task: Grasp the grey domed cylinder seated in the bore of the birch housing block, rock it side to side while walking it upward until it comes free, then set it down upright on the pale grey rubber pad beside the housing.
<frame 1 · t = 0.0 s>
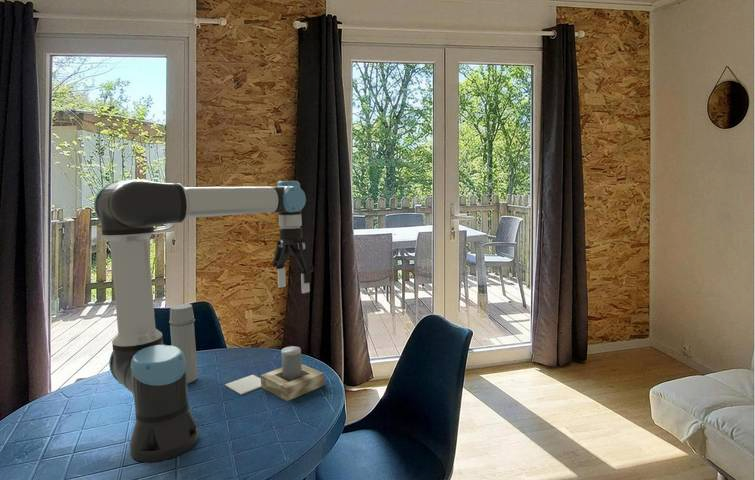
hand: (293, 289, 150), 28 cm above the table, fingers open, 13 cm apart
water bottle: (187, 380, 147), on the table
housing: (292, 386, 140), on the table
pad: (247, 384, 142), on the table
grey domed cylinder: (291, 368, 139), in the housing
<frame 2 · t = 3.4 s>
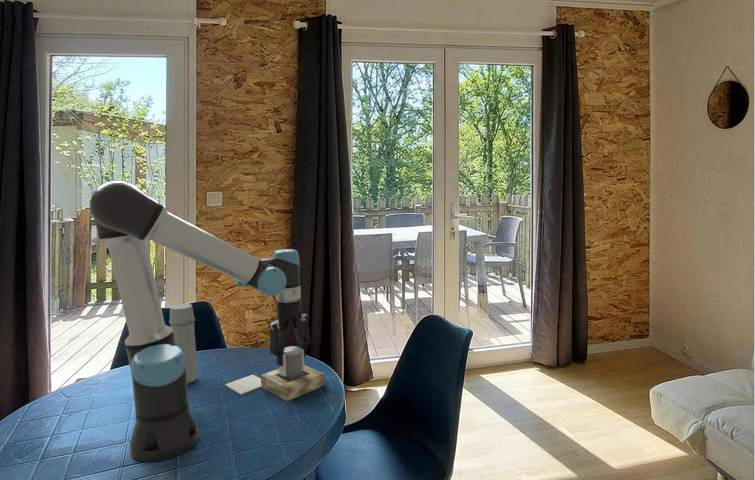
hand: (292, 371, 139), 5 cm above the table, fingers closed on grey domed cylinder, 6 cm apart
grey domed cylinder: (291, 368, 139), in the housing, touching gripper
everything else where it was.
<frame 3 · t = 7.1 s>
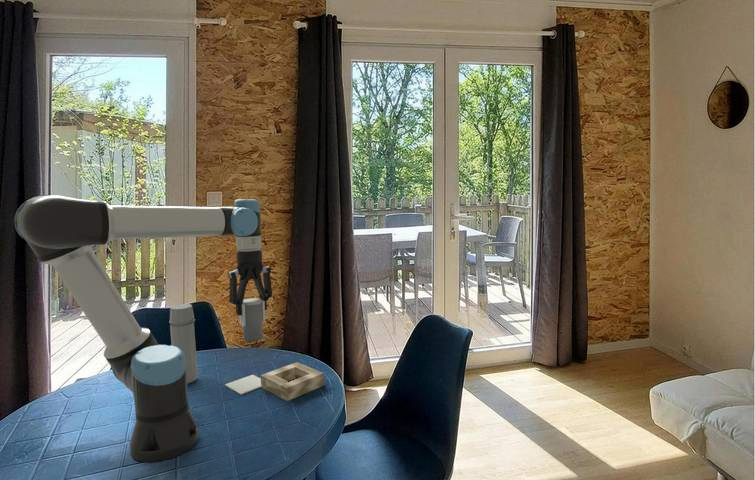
hand: (252, 322, 139), 21 cm above the table, fingers closed on grey domed cylinder, 6 cm apart
grey domed cylinder: (252, 319, 139), point 22 cm above the table, touching gripper
everything else where it was.
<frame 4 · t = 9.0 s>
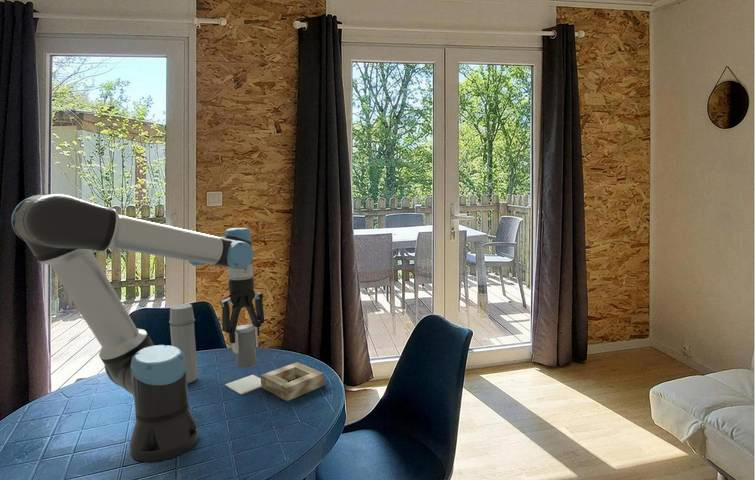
hand: (245, 349, 140), 12 cm above the table, fingers closed on grey domed cylinder, 6 cm apart
grey domed cylinder: (245, 345, 140), point 13 cm above the table, touching gripper
everything else where it was.
when the fingers open (7 cm above the table, at t = 10.7 s): grey domed cylinder drops 2 cm, resting on pad.
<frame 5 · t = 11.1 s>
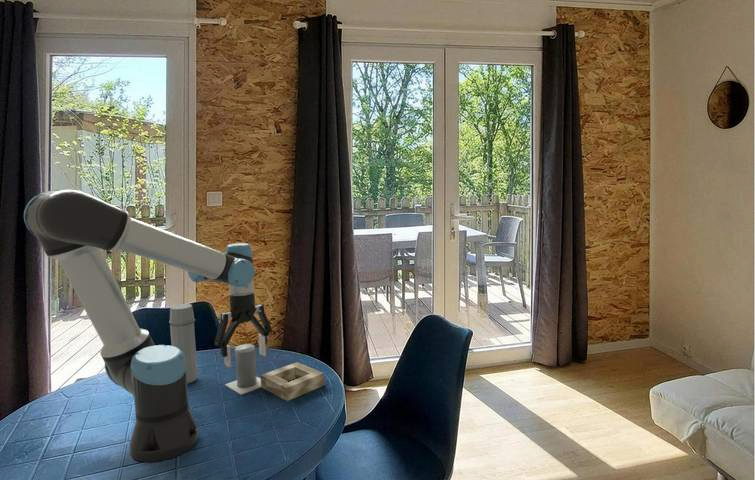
hand: (245, 360, 141), 8 cm above the table, fingers open, 11 cm apart
grey domed cylinder: (245, 365, 141), on the pad
everything else where it was.
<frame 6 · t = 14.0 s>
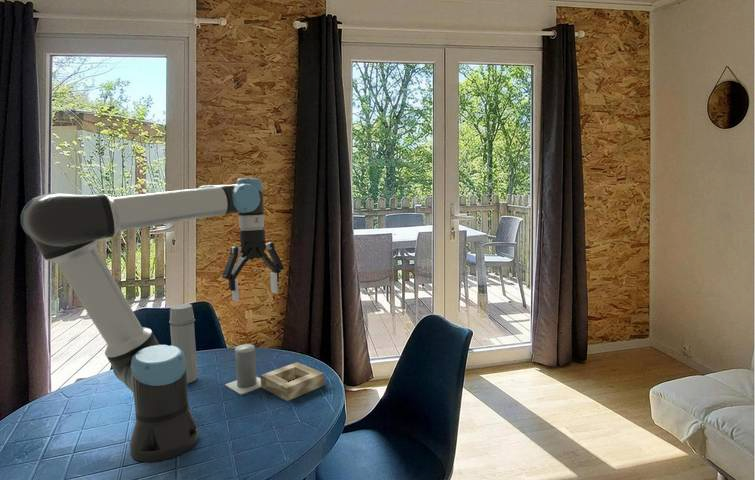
hand: (255, 296, 138), 29 cm above the table, fingers open, 13 cm apart
nothing on the table moved.
at the end: grey domed cylinder inside the target area on the pad (0.1 cm from its centre), point 6.4 cm above the pad's base; grey domed cylinder tilted 0°; the gripper is holding nothing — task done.
